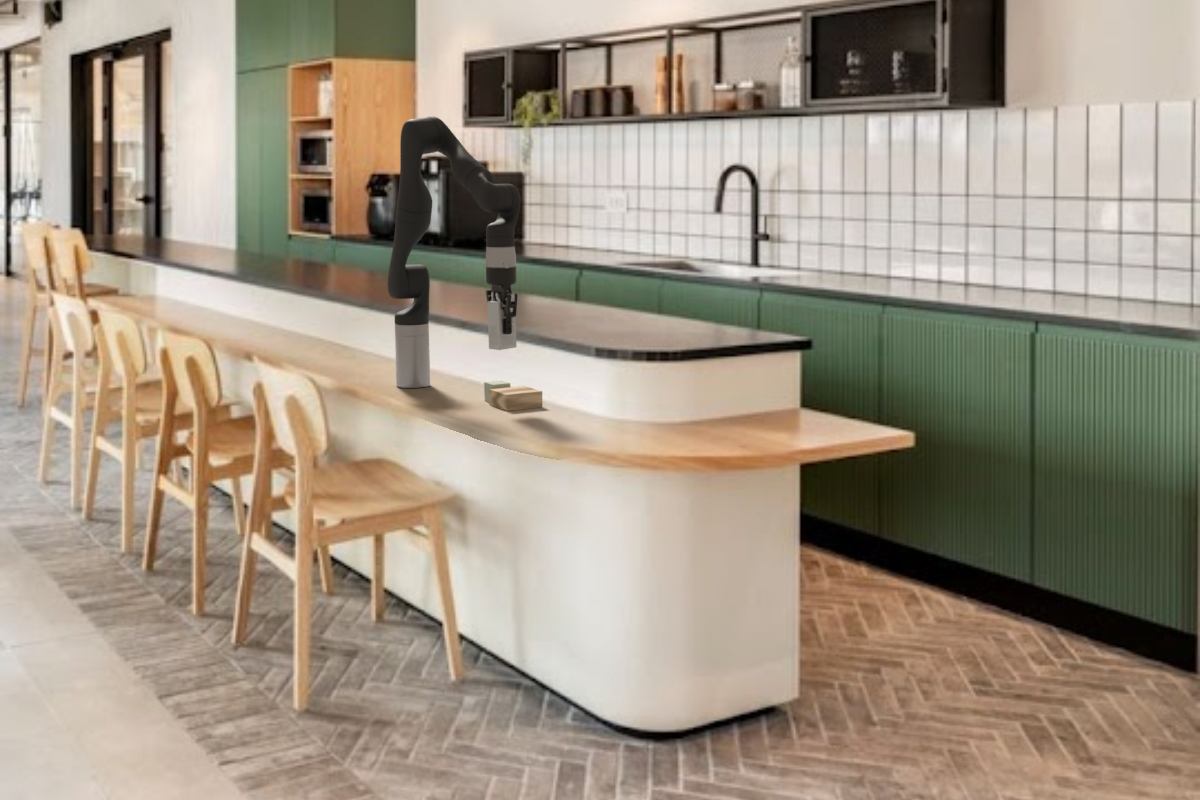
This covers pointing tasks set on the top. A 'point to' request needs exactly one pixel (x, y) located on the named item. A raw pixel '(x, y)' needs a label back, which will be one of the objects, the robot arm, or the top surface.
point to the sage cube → (494, 387)
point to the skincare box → (499, 328)
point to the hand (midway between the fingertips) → (502, 332)
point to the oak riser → (515, 398)
